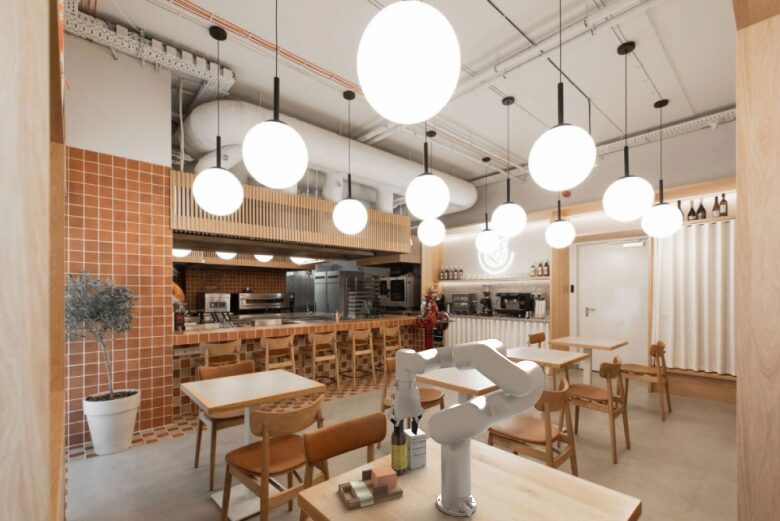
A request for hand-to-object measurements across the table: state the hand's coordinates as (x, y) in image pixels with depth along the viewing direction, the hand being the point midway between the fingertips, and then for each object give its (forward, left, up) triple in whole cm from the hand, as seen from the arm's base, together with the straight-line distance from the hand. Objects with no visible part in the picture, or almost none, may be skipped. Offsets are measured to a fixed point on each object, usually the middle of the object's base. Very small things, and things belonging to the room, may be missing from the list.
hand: (405, 434), depth 132 cm
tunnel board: (0, +14, -18) cm, 22 cm away
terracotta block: (0, +9, -16) cm, 18 cm away
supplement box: (+13, -10, -18) cm, 24 cm away
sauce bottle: (+10, -2, -18) cm, 21 cm away
